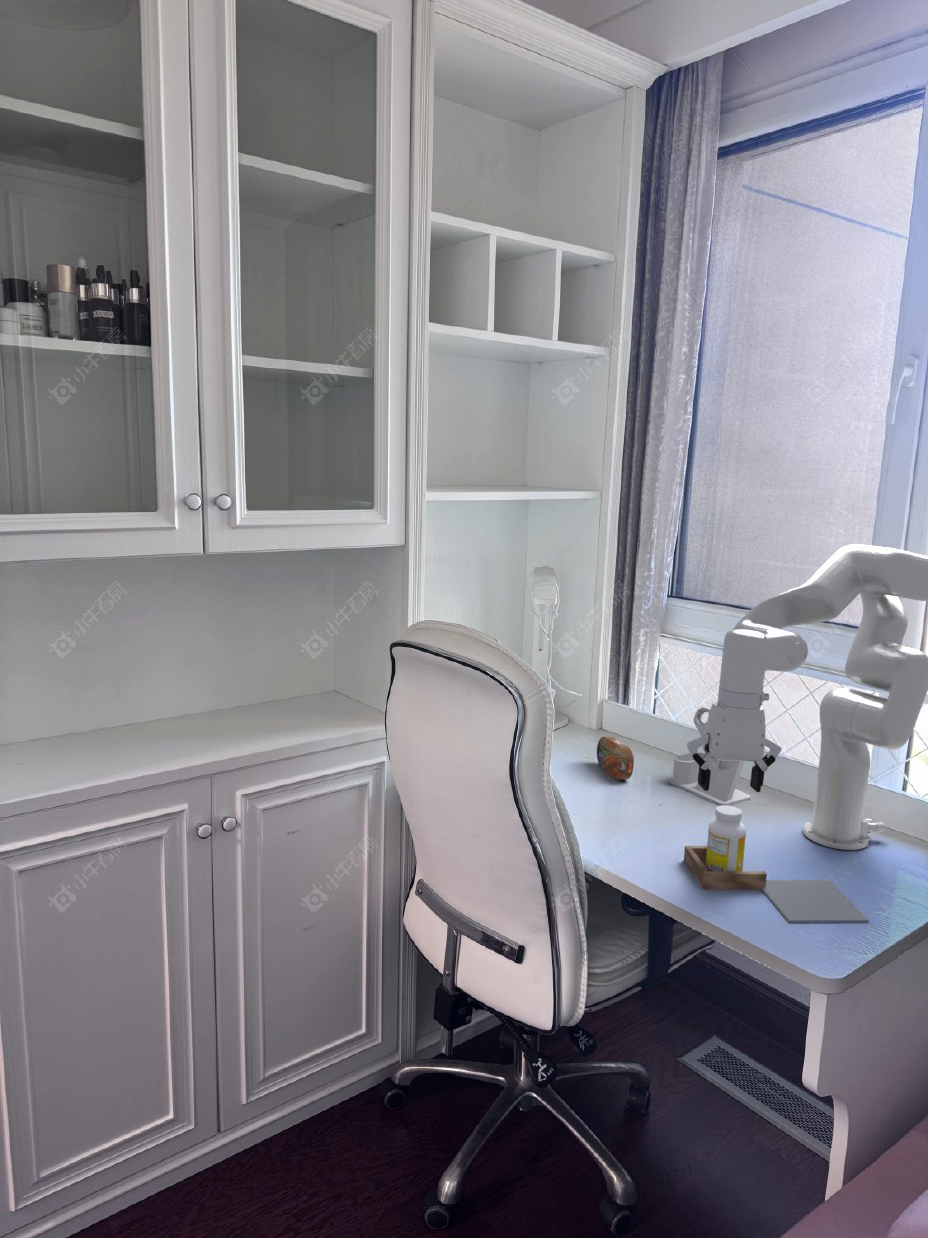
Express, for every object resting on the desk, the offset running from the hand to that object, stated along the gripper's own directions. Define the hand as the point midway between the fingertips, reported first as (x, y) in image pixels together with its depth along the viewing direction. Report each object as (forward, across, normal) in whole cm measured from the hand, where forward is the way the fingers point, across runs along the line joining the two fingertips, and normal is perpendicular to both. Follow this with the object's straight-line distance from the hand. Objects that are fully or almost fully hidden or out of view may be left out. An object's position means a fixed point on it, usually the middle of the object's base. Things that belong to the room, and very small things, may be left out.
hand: (729, 788), depth 158 cm
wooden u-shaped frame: (+17, -1, 0) cm, 17 cm away
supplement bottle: (+17, -1, 0) cm, 17 cm away
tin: (+17, +7, -52) cm, 56 cm away
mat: (+17, -13, +10) cm, 23 cm away
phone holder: (+17, -13, -42) cm, 47 cm away
